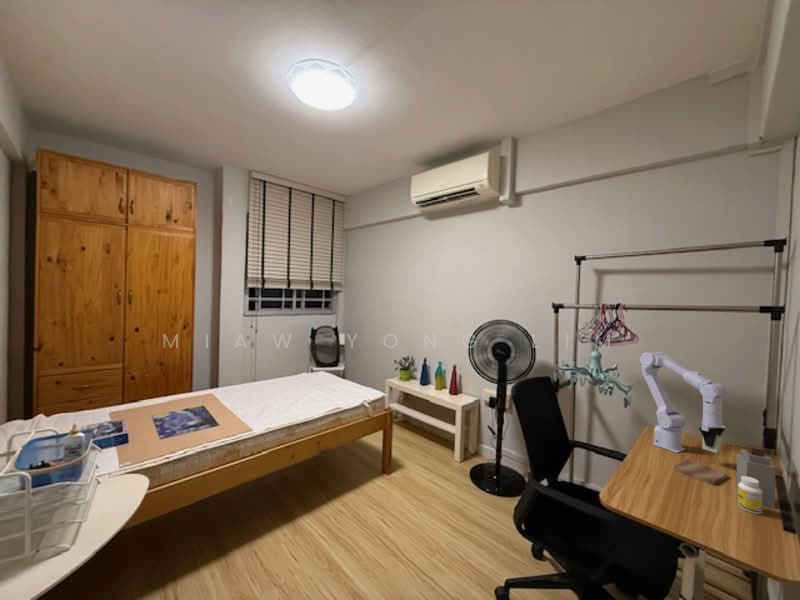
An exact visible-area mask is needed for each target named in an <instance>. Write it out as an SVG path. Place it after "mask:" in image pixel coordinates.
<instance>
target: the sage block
mask: <svg viewBox="0 0 800 600" xmlns="http://www.w3.org/2000/svg"><path fill="white" fill-rule="evenodd" d="M701 435H702V434H701ZM701 441H702V442H701V444H702V446H701V447H702V448H701V449H702V450H705V451H708V452H712V453H715V454H718V453H720V452H721V451H722V435H721V436H718V435H716V437H715V440H714V445H713V447H709V446H706V445H705V442H704V438H703V435H702V439H701Z"/></svg>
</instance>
